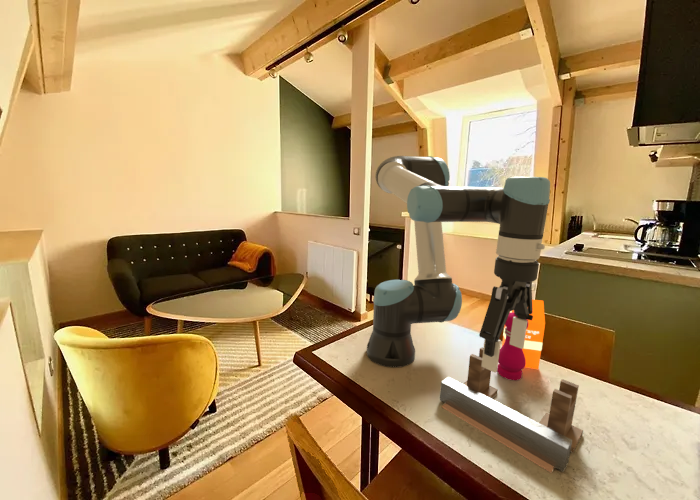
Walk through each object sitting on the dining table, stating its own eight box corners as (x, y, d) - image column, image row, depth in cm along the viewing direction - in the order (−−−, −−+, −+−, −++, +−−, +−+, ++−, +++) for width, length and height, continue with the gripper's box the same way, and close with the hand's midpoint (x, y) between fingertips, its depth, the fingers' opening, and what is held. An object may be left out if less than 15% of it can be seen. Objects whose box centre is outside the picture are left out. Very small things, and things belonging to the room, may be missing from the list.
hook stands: (458, 391, 80) (461, 352, 77) (471, 380, 84) (475, 343, 82) (573, 453, 61) (582, 404, 59) (582, 435, 66) (590, 389, 64)
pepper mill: (527, 383, 84) (537, 314, 80) (499, 379, 85) (507, 311, 81) (518, 368, 90) (527, 304, 87) (492, 365, 92) (500, 302, 88)
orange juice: (500, 351, 100) (508, 293, 96) (531, 356, 98) (539, 296, 94) (506, 364, 92) (514, 301, 89) (538, 369, 90) (548, 305, 86)
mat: (441, 407, 74) (441, 405, 74) (454, 396, 78) (454, 395, 78) (551, 473, 57) (551, 471, 57) (560, 455, 61) (561, 453, 61)
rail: (439, 400, 76) (441, 381, 75) (446, 394, 78) (448, 376, 77) (563, 472, 57) (567, 449, 56) (568, 462, 59) (572, 439, 58)
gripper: (511, 273, 49) (495, 390, 53) (558, 253, 65) (543, 344, 70) (467, 263, 54) (456, 371, 59) (521, 247, 71) (509, 332, 75)
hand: (503, 356), depth 64 cm, fingers open, 13 cm apart
